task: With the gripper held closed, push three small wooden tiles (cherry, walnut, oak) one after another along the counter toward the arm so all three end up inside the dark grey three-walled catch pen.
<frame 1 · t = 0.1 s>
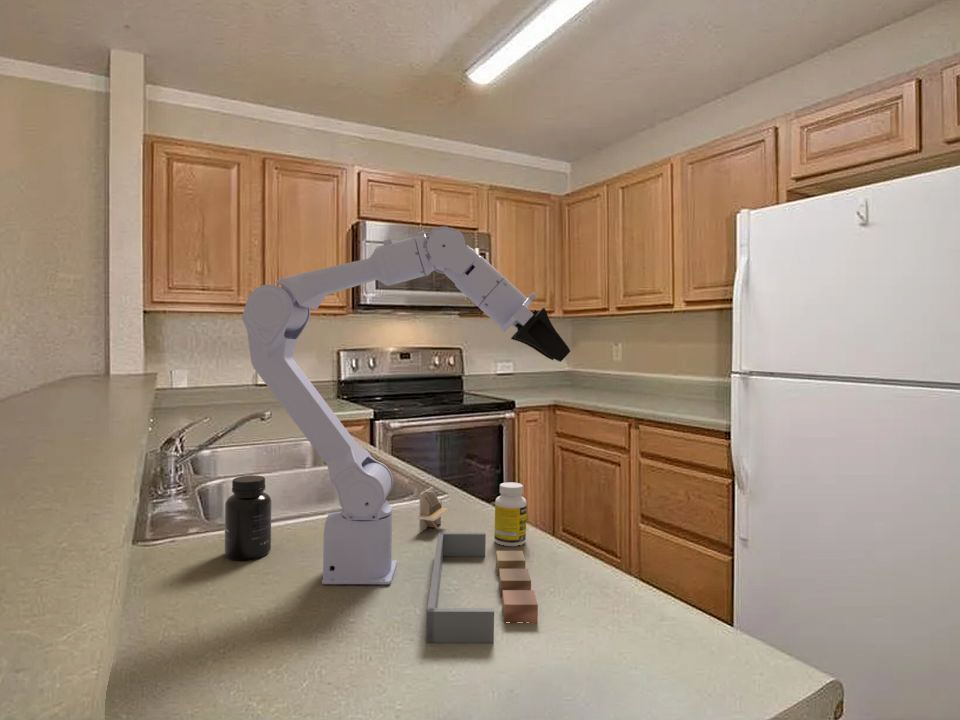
hand: (561, 355, 81), 32 cm above the worktop, tool tilted 50°, fingers open, 7 cm apart
oak tile: (510, 572, 83), on the worktop
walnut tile: (514, 592, 76), on the worktop
architectural model: (430, 532, 102), on the worktop
supplement bottle: (248, 555, 89), on the worktop
supplement bottle 2: (510, 543, 96), on the worktop
cherry tile: (519, 617, 69), on the worktop
catch pen: (462, 590, 76), on the worktop
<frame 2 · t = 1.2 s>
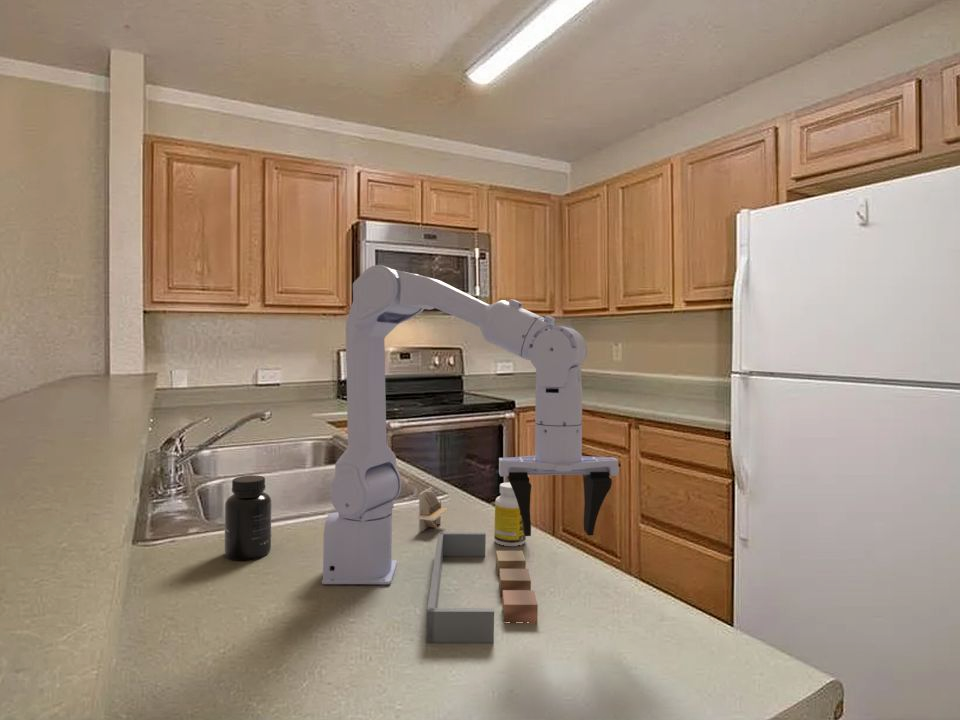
hand: (557, 533, 69), 10 cm above the worktop, tool pointing down, fingers open, 7 cm apart
nothing on the worktop moved.
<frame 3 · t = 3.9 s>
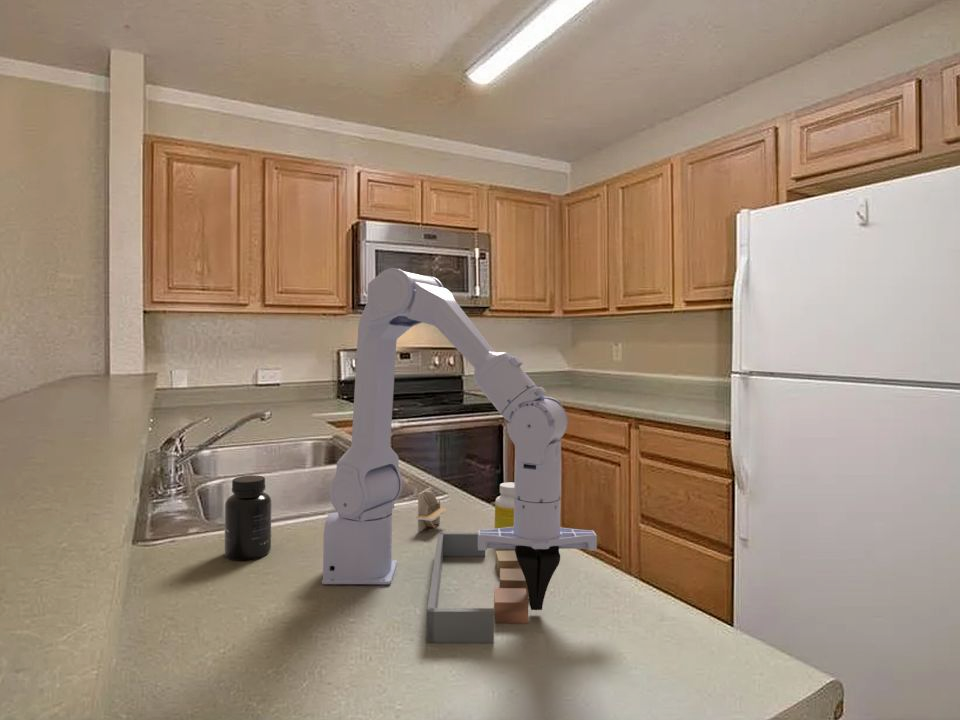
hand: (535, 606, 69), 1 cm above the worktop, tool pointing down, fingers closed
cherry tile: (510, 615, 69), on the worktop, touching gripper
everything else where it was.
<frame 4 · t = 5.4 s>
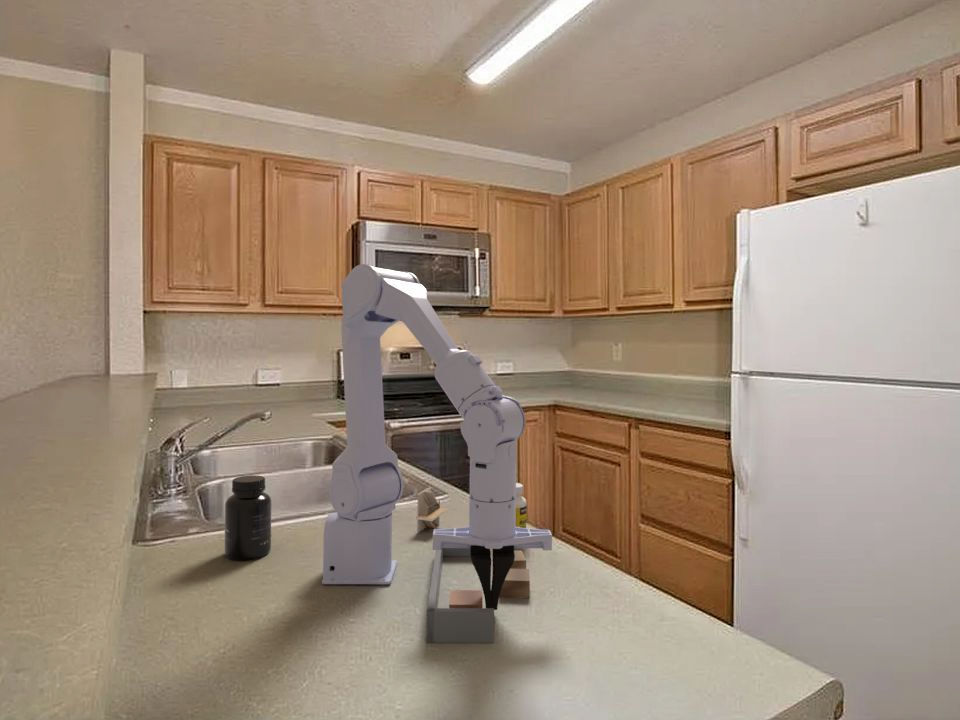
hand: (491, 606, 69), 1 cm above the worktop, tool pointing down, fingers closed
cherry tile: (465, 617, 69), on the worktop
everything else where it was.
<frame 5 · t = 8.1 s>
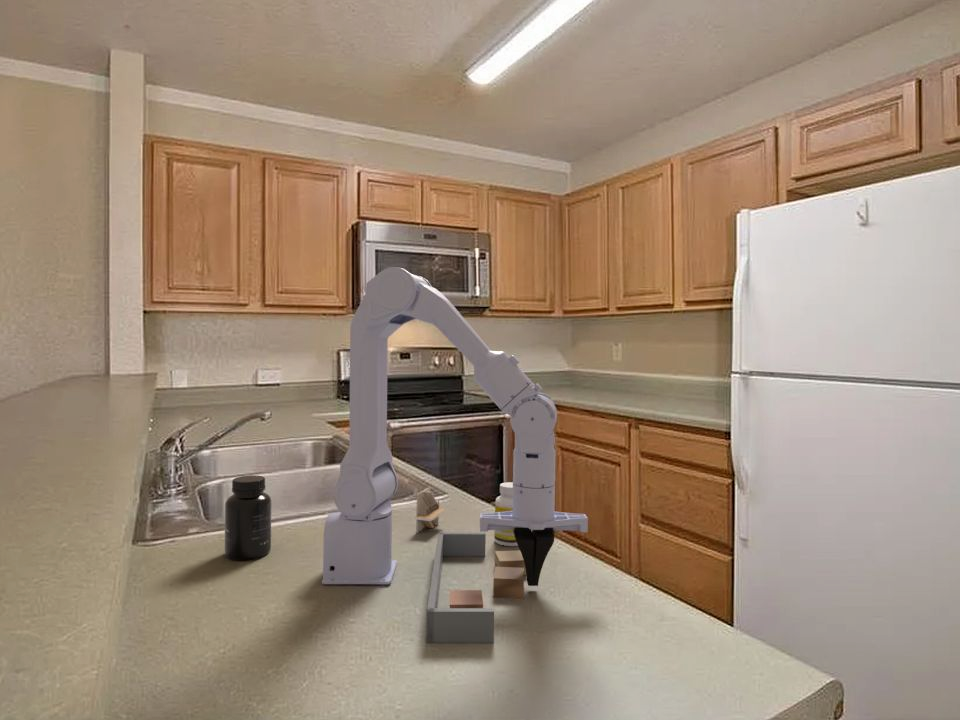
hand: (532, 582, 76), 1 cm above the worktop, tool pointing down, fingers closed
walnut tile: (508, 591, 76), on the worktop, touching gripper
everything else where it was.
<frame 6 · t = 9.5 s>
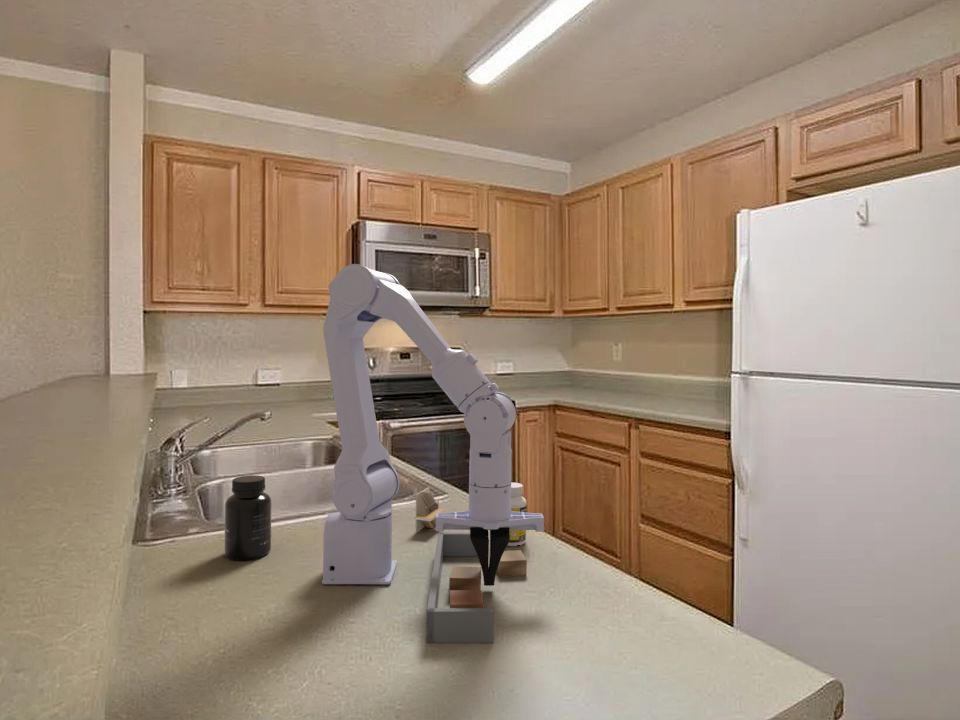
hand: (488, 582, 76), 1 cm above the worktop, tool pointing down, fingers closed
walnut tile: (465, 590, 76), on the worktop, touching gripper
everything else where it was.
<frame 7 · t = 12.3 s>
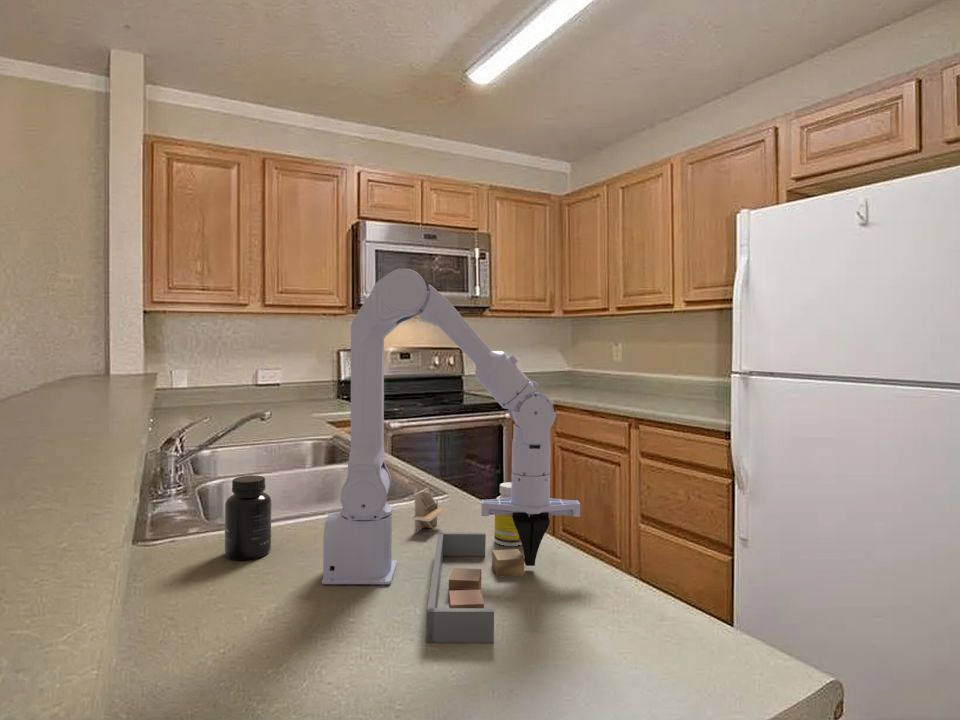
hand: (529, 563, 83), 1 cm above the worktop, tool pointing down, fingers closed
oak tile: (507, 571, 83), on the worktop, touching gripper
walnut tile: (465, 592, 76), on the worktop
everything else where it was.
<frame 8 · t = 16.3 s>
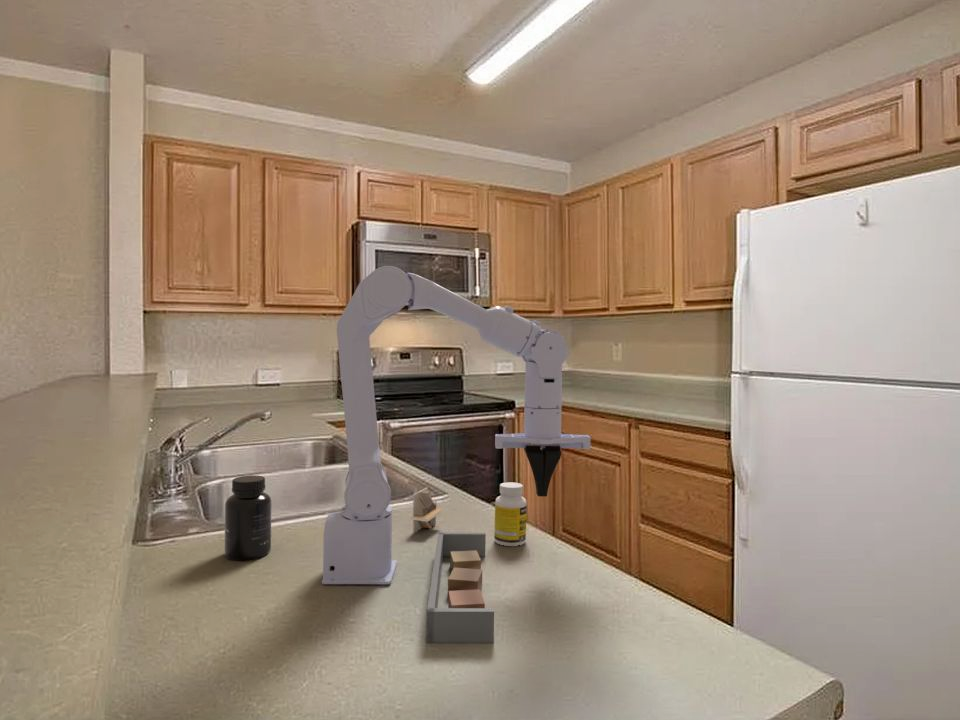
hand: (541, 494, 87), 10 cm above the worktop, tool pointing down, fingers closed
oak tile: (465, 572, 83), on the worktop
at the end: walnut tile inside the target area (0.4 cm from its centre), on the worktop; cherry tile inside the target area (0.8 cm from its centre), on the worktop; oak tile inside the target area (0.7 cm from its centre), on the worktop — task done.
